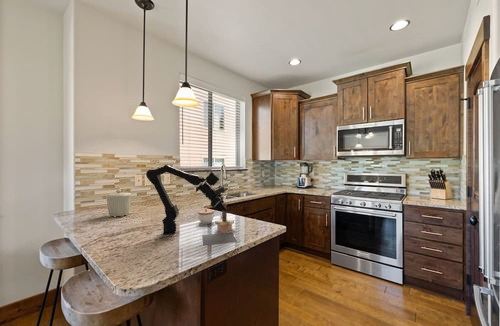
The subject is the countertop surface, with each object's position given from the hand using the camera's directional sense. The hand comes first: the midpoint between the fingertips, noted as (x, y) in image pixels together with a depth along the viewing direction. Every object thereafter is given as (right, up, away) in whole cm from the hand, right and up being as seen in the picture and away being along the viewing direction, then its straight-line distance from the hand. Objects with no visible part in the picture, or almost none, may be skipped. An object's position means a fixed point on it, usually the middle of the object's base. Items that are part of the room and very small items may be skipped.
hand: (226, 209), depth 133 cm
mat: (-2, -13, -16) cm, 20 cm away
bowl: (-1, -13, 0) cm, 13 cm away
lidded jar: (-16, -13, +18) cm, 27 cm away
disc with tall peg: (-1, -8, 0) cm, 8 cm away
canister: (-90, -14, +42) cm, 100 cm away
